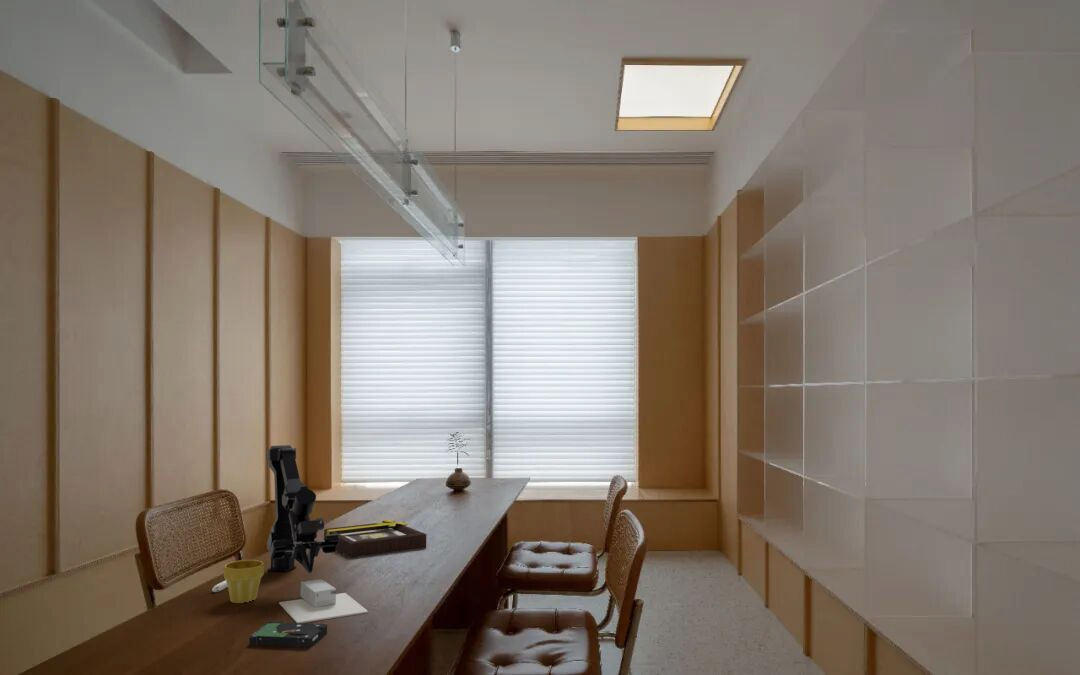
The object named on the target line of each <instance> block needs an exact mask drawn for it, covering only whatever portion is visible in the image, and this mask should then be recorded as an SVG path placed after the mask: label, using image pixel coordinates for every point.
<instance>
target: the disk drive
mask: <svg viewBox="0 0 1080 675" xmlns="http://www.w3.org/2000/svg"><path fill="white" fill-rule="evenodd" d="M327 634H328V624H326V623H325V624H324V623H309V622H306V623H296V622H283V621H281V622H279V621H275V622H274V621H268V622H267V623H266V624H264V625H262V626H261V627H259V628H258V630H256V631H255V632H254V633H252V634H249V638H248V646H262V647H264V646H265V647H286V648H310V649H311V648H312V647H313V646H315V644H316V643H318V642H319V641H320V640H321V639H323V637H325V636H326V635H327Z"/></svg>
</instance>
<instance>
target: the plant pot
mask: <svg viewBox="0 0 1080 675" xmlns="http://www.w3.org/2000/svg"><path fill="white" fill-rule="evenodd" d="M264 574H265V563H264V561H262V560H260V559H241V560H235V561H230V562H227V563H226V564H224V566H223V578H224V580H226V581H227V586H228V587H227V591H228V596H229V600H230V602H231V603H233V604H245V603H244V602H247V603H250V602H249V601H251V602H253V601H252V600H254V601H255V600H256V599H257V596H258V591H259V587H260V583H261V580H262V577H263V576H264Z"/></svg>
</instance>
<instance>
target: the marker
mask: <svg viewBox="0 0 1080 675" xmlns="http://www.w3.org/2000/svg"><path fill="white" fill-rule="evenodd" d="M225 589H228V586H227V581H226V579H224V580H223V581H221V582H219V583H218V584H215V585H214V586H213V587H212V589H211V590H212V593H218V592H221V591H222V590H225Z"/></svg>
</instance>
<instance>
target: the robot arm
mask: <svg viewBox="0 0 1080 675" xmlns="http://www.w3.org/2000/svg"><path fill="white" fill-rule="evenodd" d="M266 460H267V461H268V466H269V469H270V470H271V471H272V472H273V476H274V477H273V478H274V503H275V504H274V505H275V506H274V507H275V520H274V521H273V524H272V525H271V527H270V532H269V535H268V538H267V542H266V549H267V551H268V552H269V555H270V556H269V557H270V567H268V568H267V571H271V572H282V573H283V572H288V571H290V570H293V569H295V568H297V565H295V560H296V561H297V563H299V564H300V565H301V566H302V567H303V568H304V570H305V571H306V572H307V573H308V574H312V572H313V567H314V561H315V558H317V557H318V555H319V553H320V550H321V551H322V552H323V553H324V554H333V553H336V552H337V551H338V550H337V549H338V546H339V543H340V538H339V536H338V535H337V534H332V535H325V537H324V536H323V539H322V540H321V539H320V540H315V539H317V537H318V534H317V533H318V532H319V531H322V530H323V531H324V528H325V520H324V518H323V517H317V518H316V519H311V515H310V514H312V512H313V509H314V507H315V503H316V501H317V500H316V499H317V495H316V493H315V492H314V491H313V490H311V489H309V488H308V485H306V484H305V483H303V482H302V481H301V478H300V473H299V468H298V465H297V448H296V447H295V448H293V447H292V446H291V445H290V444H285V445H284V444H283V445H270V447H269V448H268V449H267V450H266ZM307 552H308V553H307Z"/></svg>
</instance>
